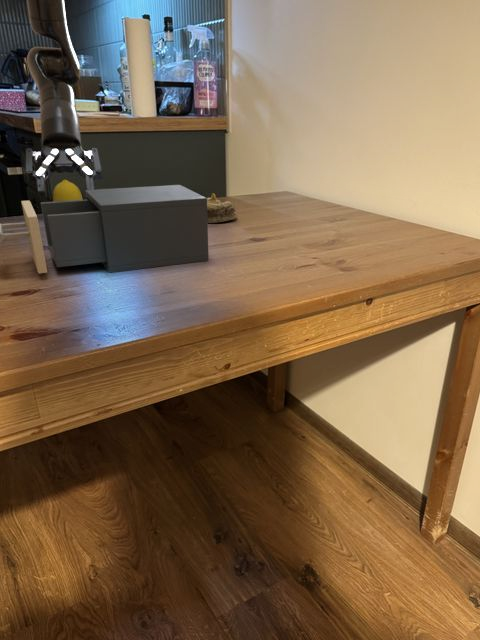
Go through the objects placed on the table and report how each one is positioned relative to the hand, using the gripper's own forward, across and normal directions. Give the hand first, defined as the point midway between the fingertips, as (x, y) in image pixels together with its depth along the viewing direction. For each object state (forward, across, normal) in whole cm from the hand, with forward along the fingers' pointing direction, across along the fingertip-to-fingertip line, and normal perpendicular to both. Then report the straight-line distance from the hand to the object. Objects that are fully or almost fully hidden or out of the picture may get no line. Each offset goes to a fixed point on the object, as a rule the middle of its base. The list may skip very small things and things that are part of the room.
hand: (67, 195), depth 99 cm
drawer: (+24, +1, -18) cm, 30 cm away
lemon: (+3, 0, +4) cm, 5 cm away
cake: (+6, +29, +2) cm, 30 cm away
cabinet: (+23, +13, -16) cm, 31 cm away
